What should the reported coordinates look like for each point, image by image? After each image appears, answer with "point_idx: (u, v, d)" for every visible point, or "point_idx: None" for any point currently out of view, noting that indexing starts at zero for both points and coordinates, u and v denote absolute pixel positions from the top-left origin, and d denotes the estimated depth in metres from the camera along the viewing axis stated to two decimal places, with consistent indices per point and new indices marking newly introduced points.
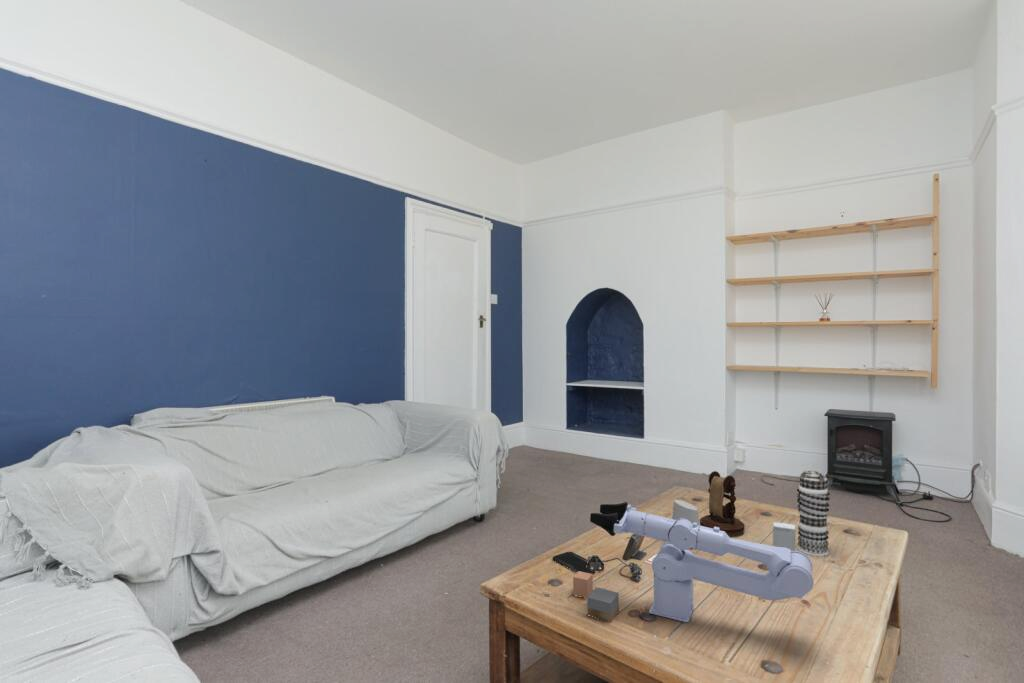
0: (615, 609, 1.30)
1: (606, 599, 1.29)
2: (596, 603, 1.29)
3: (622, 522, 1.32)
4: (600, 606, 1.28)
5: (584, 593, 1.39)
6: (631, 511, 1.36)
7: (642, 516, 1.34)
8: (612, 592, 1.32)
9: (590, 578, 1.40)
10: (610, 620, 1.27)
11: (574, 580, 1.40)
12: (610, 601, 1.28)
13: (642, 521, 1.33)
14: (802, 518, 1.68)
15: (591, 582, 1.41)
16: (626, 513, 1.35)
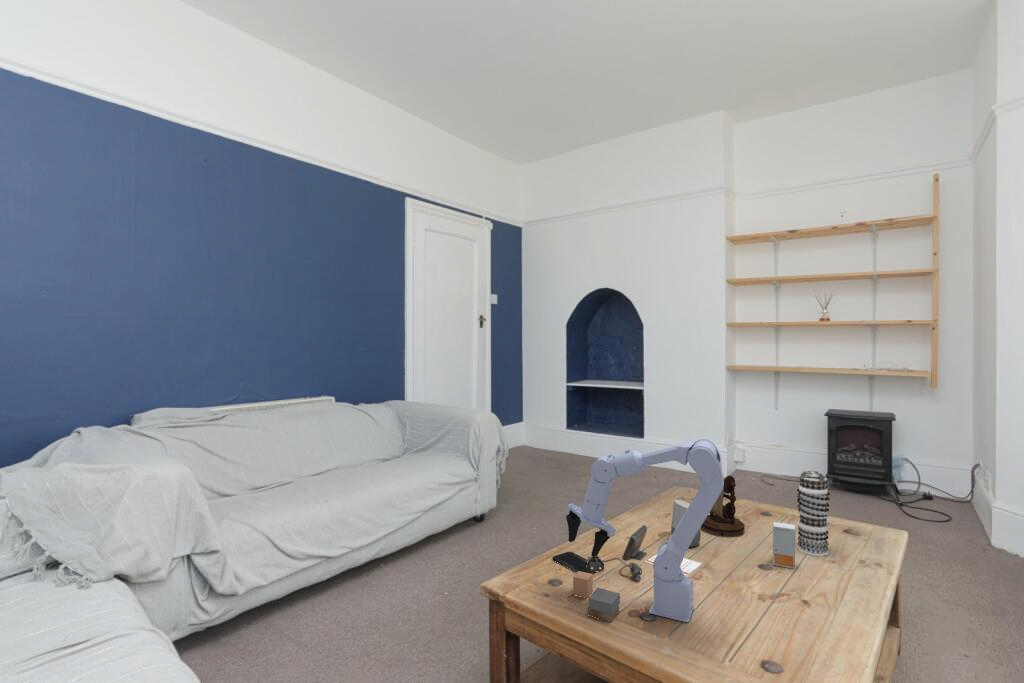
0: None
1: (608, 599, 1.29)
2: (597, 604, 1.28)
3: (605, 528, 1.36)
4: (601, 607, 1.28)
5: (584, 593, 1.39)
6: (587, 517, 1.38)
7: (594, 507, 1.37)
8: (613, 593, 1.32)
9: (590, 578, 1.40)
10: (610, 620, 1.27)
11: (574, 580, 1.40)
12: (612, 602, 1.28)
13: (599, 507, 1.37)
14: (802, 518, 1.68)
15: (591, 582, 1.41)
16: (592, 522, 1.37)
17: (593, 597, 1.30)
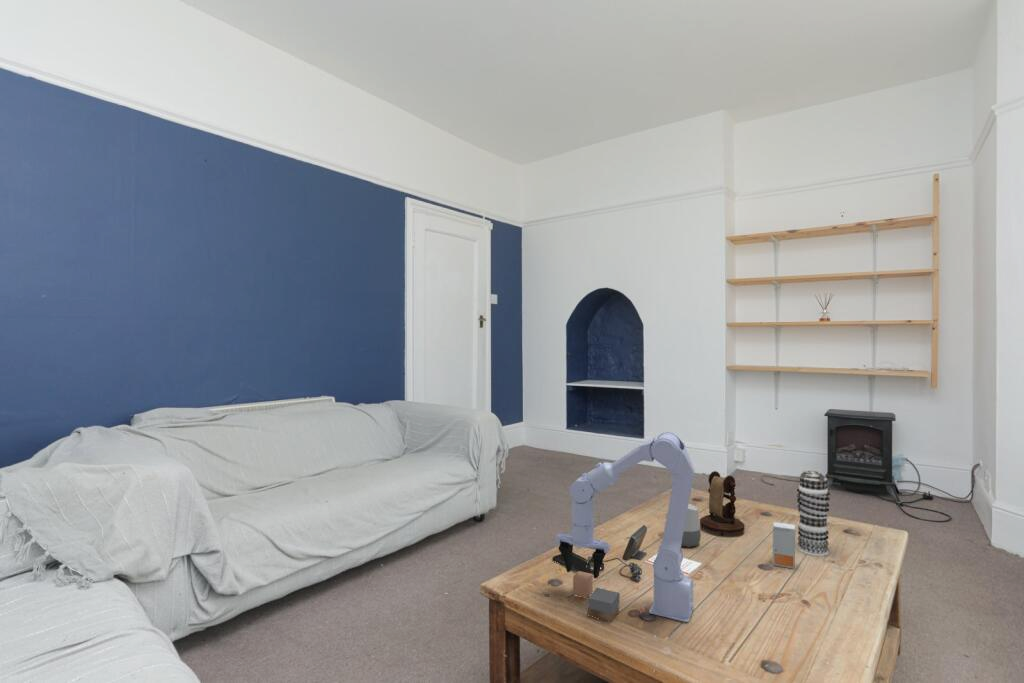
0: (615, 609, 1.30)
1: (608, 599, 1.29)
2: (597, 604, 1.29)
3: (601, 546, 1.37)
4: (601, 607, 1.28)
5: (584, 593, 1.39)
6: (580, 541, 1.38)
7: (584, 530, 1.38)
8: (613, 592, 1.32)
9: (590, 578, 1.40)
10: (610, 620, 1.27)
11: (574, 580, 1.40)
12: (611, 601, 1.28)
13: (589, 528, 1.38)
14: (802, 518, 1.68)
15: (591, 582, 1.41)
16: (586, 545, 1.38)
17: (593, 597, 1.30)
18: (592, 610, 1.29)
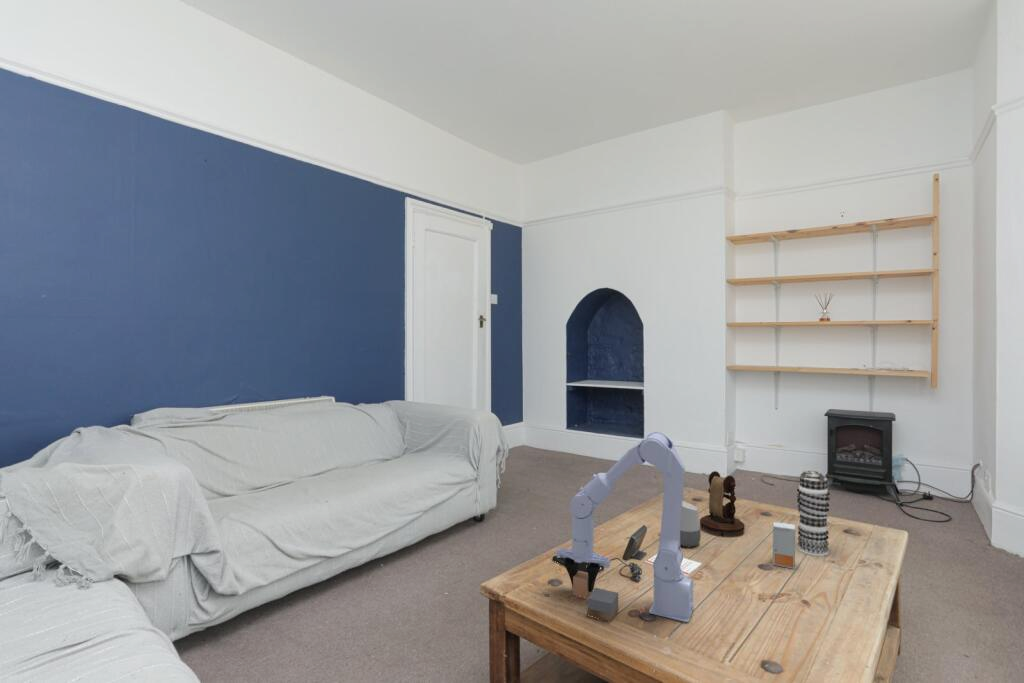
0: (614, 609, 1.30)
1: (607, 599, 1.29)
2: (596, 604, 1.28)
3: (601, 561, 1.37)
4: (601, 607, 1.28)
5: (584, 592, 1.39)
6: (581, 556, 1.38)
7: (584, 545, 1.38)
8: (611, 592, 1.32)
9: None
10: (609, 620, 1.27)
11: (574, 580, 1.40)
12: (611, 601, 1.28)
13: (589, 543, 1.38)
14: (802, 518, 1.68)
15: None
16: (586, 560, 1.38)
17: (592, 597, 1.30)
18: (592, 610, 1.29)
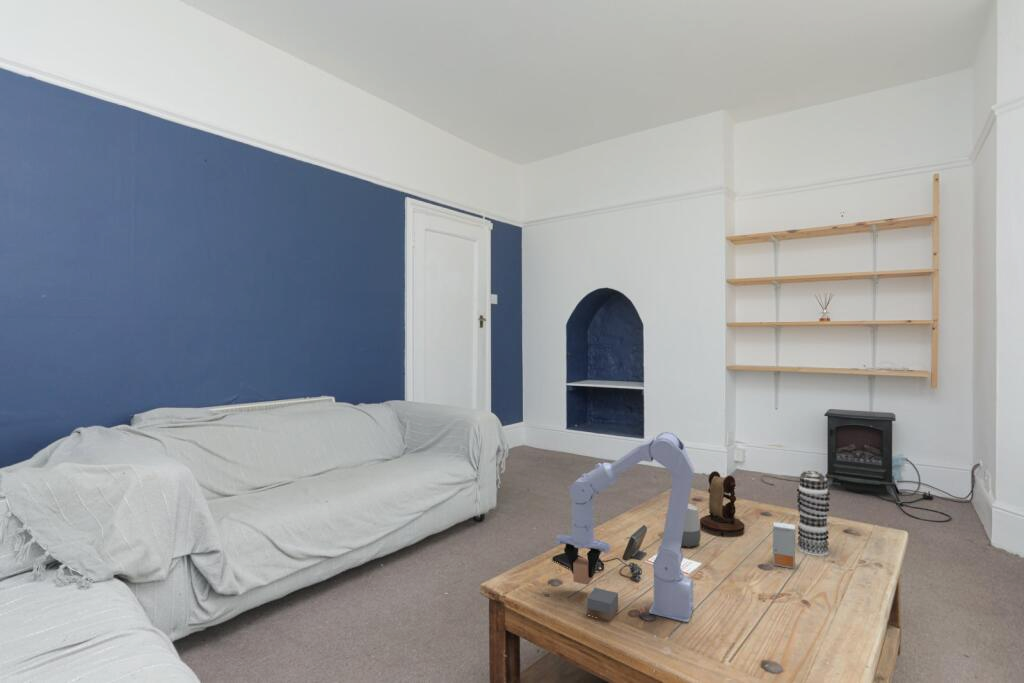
0: (614, 609, 1.30)
1: (606, 599, 1.29)
2: (596, 604, 1.28)
3: (601, 546, 1.37)
4: (600, 607, 1.28)
5: (584, 578, 1.39)
6: (581, 542, 1.38)
7: (584, 530, 1.38)
8: (611, 592, 1.32)
9: None
10: (610, 620, 1.27)
11: (574, 566, 1.40)
12: (610, 601, 1.28)
13: (589, 528, 1.38)
14: (802, 518, 1.68)
15: None
16: (586, 546, 1.38)
17: (591, 597, 1.30)
18: (592, 610, 1.29)
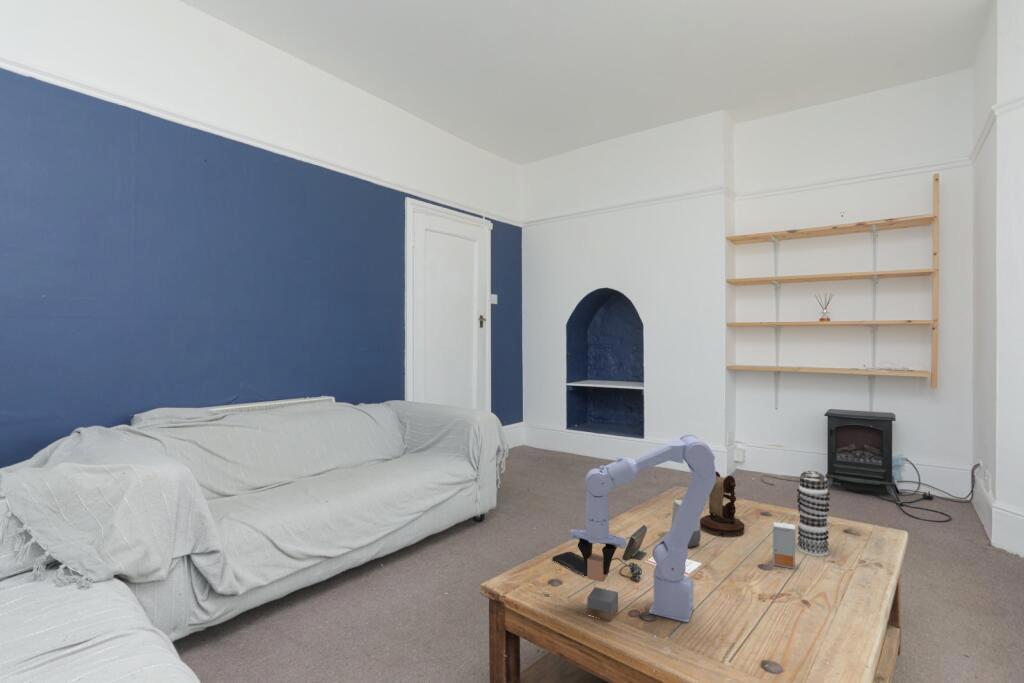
0: (614, 608, 1.30)
1: (607, 598, 1.29)
2: (596, 603, 1.29)
3: (617, 541, 1.30)
4: (600, 606, 1.28)
5: (599, 575, 1.31)
6: (595, 537, 1.31)
7: (599, 524, 1.31)
8: (611, 591, 1.33)
9: None
10: (609, 619, 1.27)
11: (588, 562, 1.33)
12: (610, 600, 1.28)
13: (604, 523, 1.31)
14: (802, 518, 1.68)
15: None
16: (601, 541, 1.30)
17: (592, 596, 1.30)
18: (592, 609, 1.29)
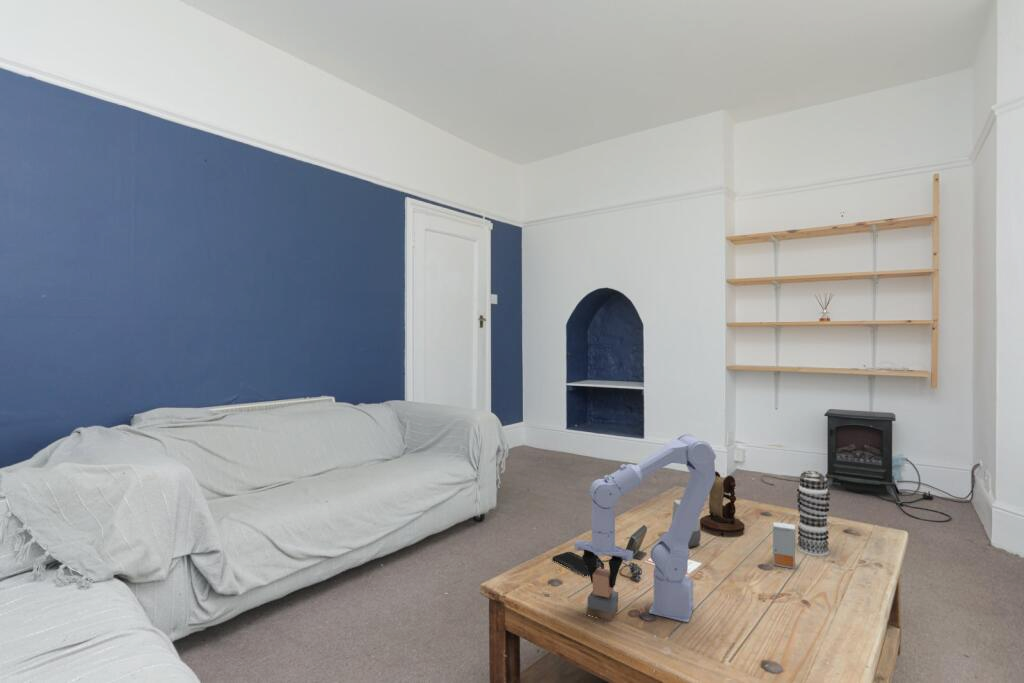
0: (614, 609, 1.30)
1: (607, 598, 1.29)
2: (596, 603, 1.29)
3: (623, 554, 1.27)
4: (601, 606, 1.28)
5: (604, 591, 1.29)
6: (601, 549, 1.28)
7: (605, 536, 1.28)
8: None
9: None
10: (609, 620, 1.27)
11: (594, 577, 1.30)
12: (611, 600, 1.28)
13: (610, 534, 1.28)
14: (802, 518, 1.68)
15: None
16: (607, 553, 1.28)
17: (592, 596, 1.30)
18: (591, 609, 1.29)
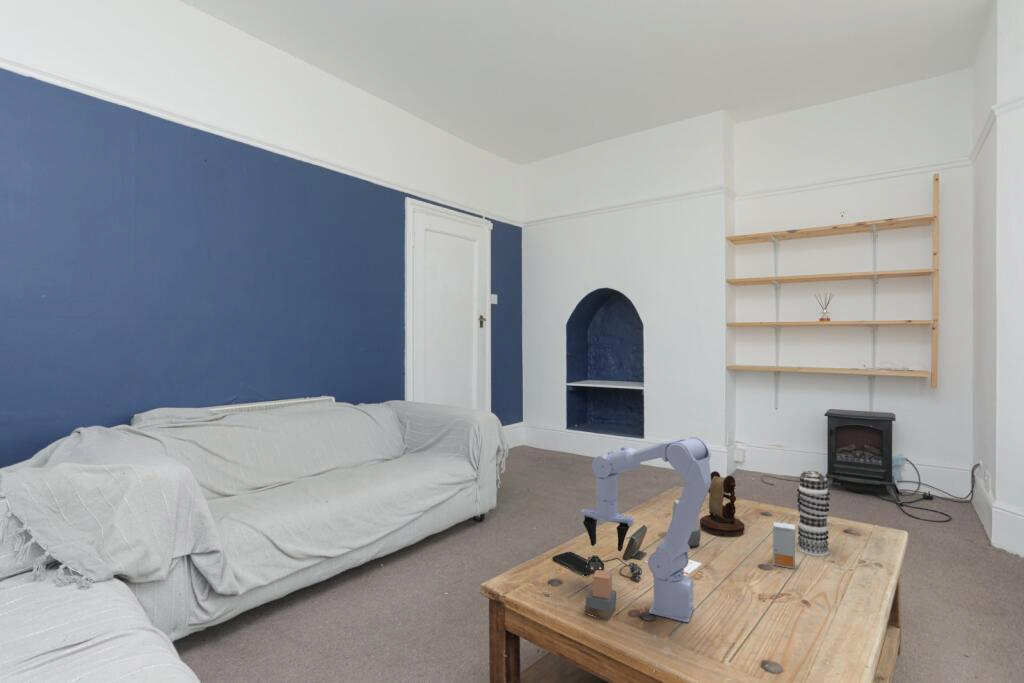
0: (612, 607, 1.31)
1: None
2: (594, 602, 1.29)
3: (624, 519, 1.42)
4: (599, 605, 1.29)
5: (605, 592, 1.29)
6: (605, 515, 1.43)
7: (608, 504, 1.43)
8: None
9: (610, 576, 1.31)
10: (607, 618, 1.28)
11: (594, 579, 1.30)
12: (609, 599, 1.29)
13: (613, 502, 1.43)
14: (802, 518, 1.68)
15: (611, 581, 1.31)
16: (610, 519, 1.43)
17: (590, 595, 1.31)
18: (590, 608, 1.30)
